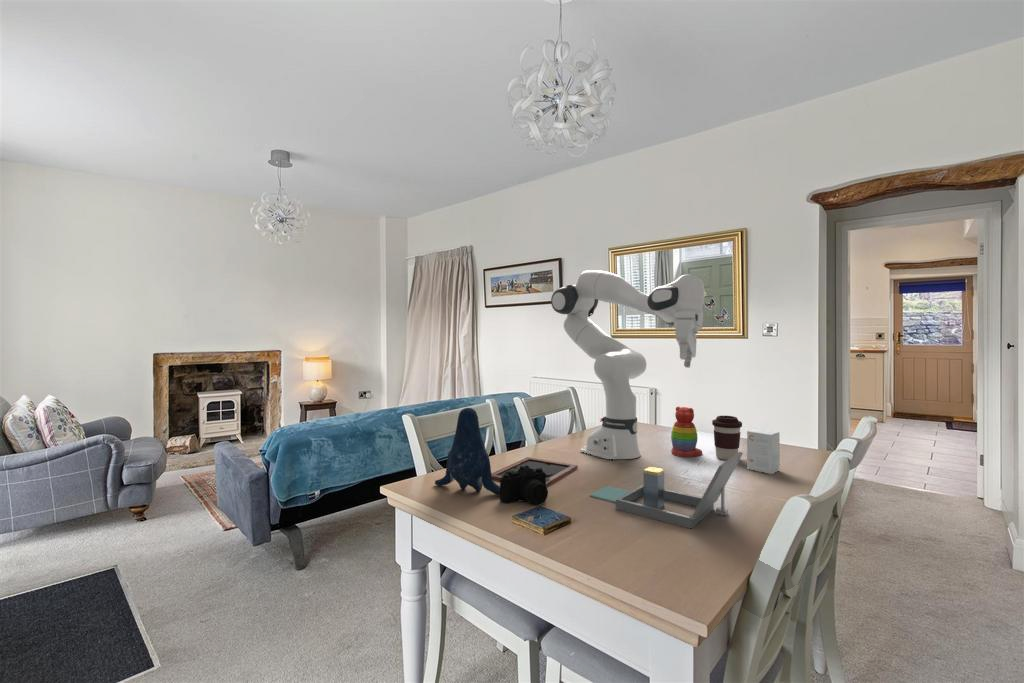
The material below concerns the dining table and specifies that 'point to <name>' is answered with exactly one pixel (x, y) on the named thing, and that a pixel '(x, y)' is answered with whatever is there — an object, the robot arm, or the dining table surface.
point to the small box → (763, 451)
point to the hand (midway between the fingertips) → (685, 363)
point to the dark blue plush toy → (469, 456)
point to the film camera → (524, 486)
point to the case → (684, 499)
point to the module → (654, 487)
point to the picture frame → (549, 467)
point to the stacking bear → (684, 434)
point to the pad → (609, 493)
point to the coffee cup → (726, 436)
